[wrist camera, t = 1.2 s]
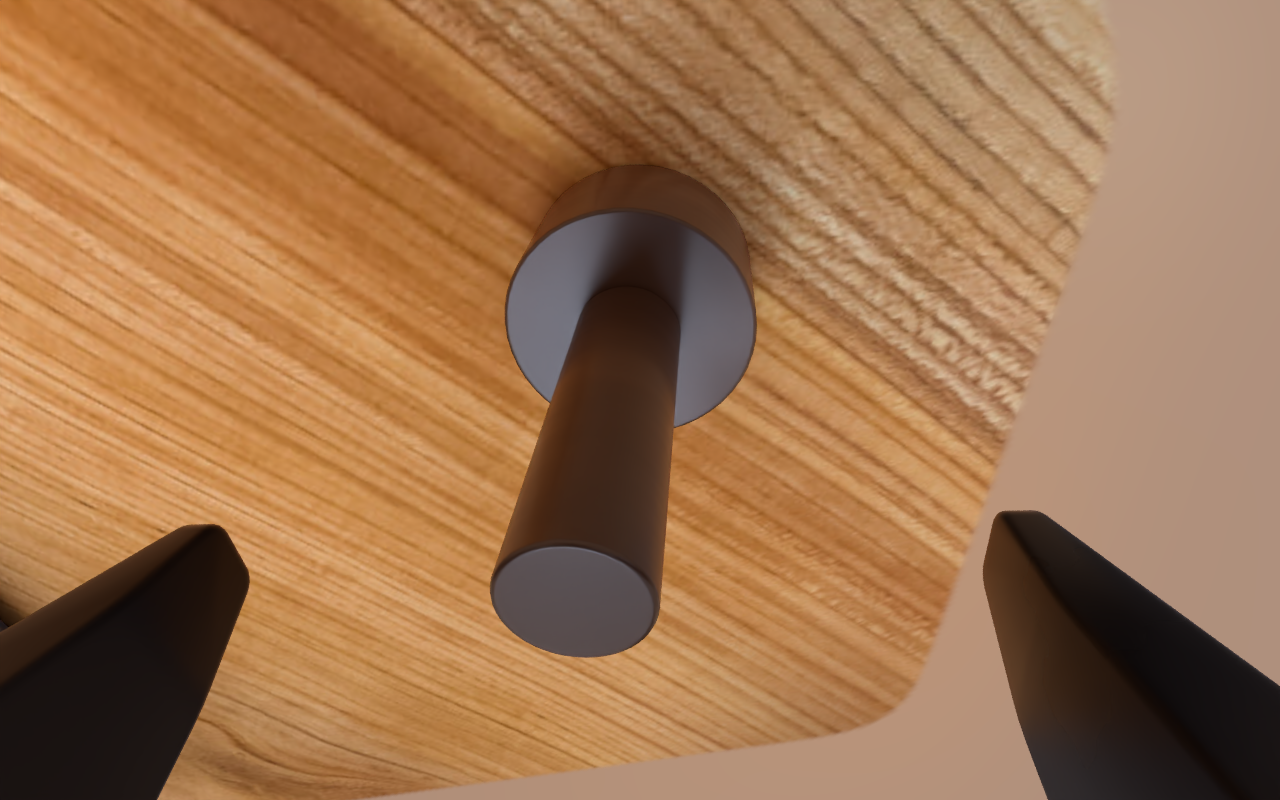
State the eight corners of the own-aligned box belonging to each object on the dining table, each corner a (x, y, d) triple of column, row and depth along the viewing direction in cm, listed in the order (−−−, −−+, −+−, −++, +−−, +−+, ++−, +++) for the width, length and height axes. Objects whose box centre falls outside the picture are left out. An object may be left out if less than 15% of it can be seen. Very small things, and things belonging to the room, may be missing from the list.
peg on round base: (797, 265, 14) (881, 605, 7) (654, 401, 16) (609, 769, 9) (623, 112, 13) (516, 344, 6) (492, 282, 15) (295, 605, 8)
